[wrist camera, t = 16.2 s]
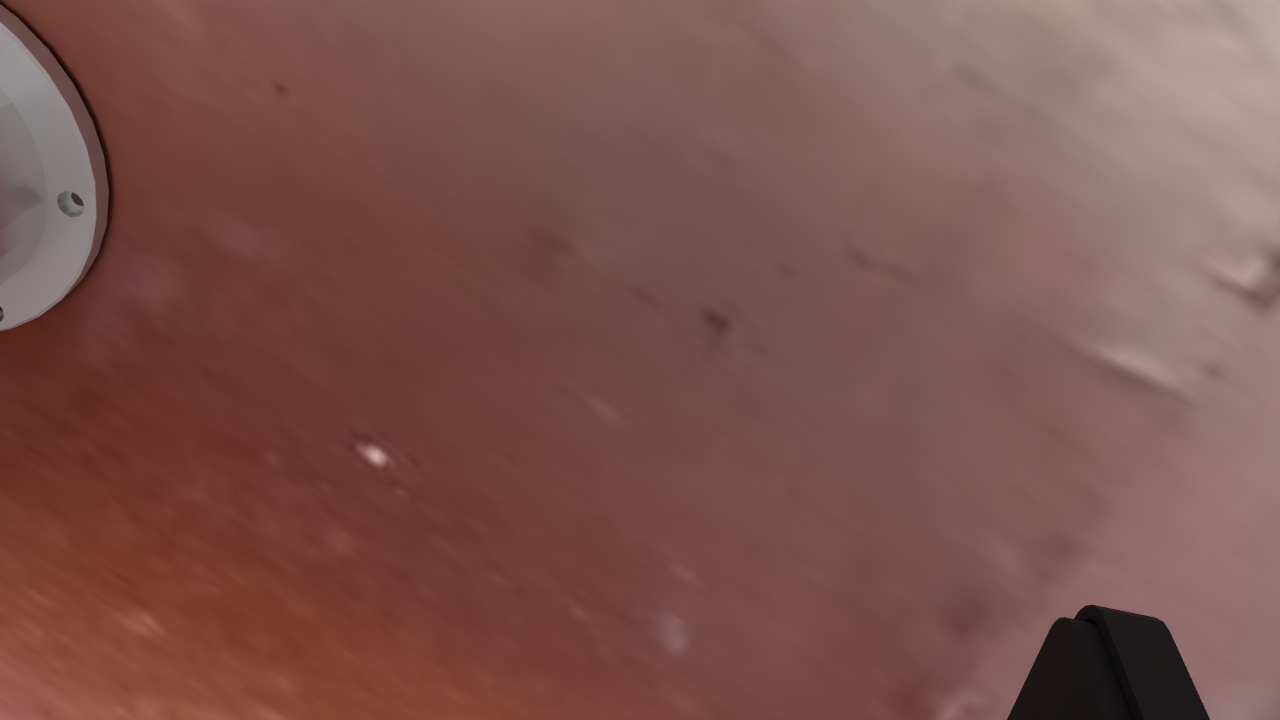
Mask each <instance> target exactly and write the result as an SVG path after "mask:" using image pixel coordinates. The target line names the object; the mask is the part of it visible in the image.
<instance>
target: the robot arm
mask: <svg viewBox="0 0 1280 720" xmlns="http://www.w3.org/2000/svg"><path fill="white" fill-rule="evenodd" d="M108 199H109V189H108V181H107V174H106V166H105V159H104V155H103V152H102V149H101V145H100V142H99V139H98V136H97V133H96V130H95V127H94V124H93V121H92V119H91V117H90V115H89V113H88V111H87V109H86V107H85V105H84V103H83V101H82V99H81V97H80V95H79V94H78V92H77V90H76V88H75V86H74V84H73V83H72V81H71V80H70V78H69V77H68V76H67V74H66V73H65V72H64V70H63V69H62V67H61V66H60V65H59V63H58V62H57V60H56V59H55V58H54V56H53V55H52V54H51V52H50V51H49V49H48V48H47V47H46V46H45V45H44V44H43V43H42V42H41V41H40V40H39V39H38V38H37V37H36V36H35V35H34V34H33V33H32V32H31V31H30V30H29V29H28V28H27V27H26V26H25V25H24V24H23V23H22V22H21V21H20V20H19V19H18V18H17V17H16V16H15V15H13V14H12V13H11V12H9V11H8V10H7V9H6V8H4V7H3V6H2V5H0V331H2V330H7V329H12V328H15V327H17V326H19V325H22V324H24V323H26V322H28V321H31V320H33V319H35V318H37V317H39V316H41V315H42V314H43V313H45V312H46V311H47V310H49V309H50V308H51V307H53V306H54V305H55V304H57V303H58V302H59V301H61V300H62V299H63V298H64V297H65V296H66V295H67V294H68V293H69V292H70V291H71V290H72V289H73V288H74V287H75V286H76V285H77V284H78V283H79V282H80V281H81V280H82V279H83V278H84V277H85V275H86V273H87V272H88V270H89V268H90V267H91V265H92V263H93V262H94V260H95V258H96V256H97V255H98V252H99V249H100V246H101V242H102V239H103V236H104V232H105V229H106V226H107V214H108ZM1007 720H1210V719H1209V716H1208V714H1207V712H1206V710H1205V708H1204V705H1203V703H1202V701H1201V699H1200V697H1199V694H1198V692H1197V690H1196V688H1195V686H1194V683H1193V681H1192V679H1191V677H1190V675H1189V672H1188V670H1187V668H1186V666H1185V664H1184V662H1183V659H1182V657H1181V655H1180V653H1179V651H1178V648H1177V646H1176V644H1175V642H1174V640H1173V637H1172V635H1171V633H1170V631H1169V629H1168V628H1167V626H1166V625H1165V623H1164V622H1163V621H1161V620H1159V619H1157V618H1154V617H1150V616H1145V615H1140V614H1135V613H1130V612H1125V611H1120V610H1115V609H1110V608H1106V607H1101V606H1096V605H1088V606H1085V607H1083V608H1082V609H1081V610H1080V611H1079V612H1078V613H1077V615H1076V616H1075V618H1074V619H1070V618H1065V617H1063V618H1059V619H1058V620H1057V621H1055V622H1054V624H1053V625H1052V627H1051V629H1050V630H1049V633H1048V635H1047V637H1046V639H1045V641H1044V643H1043V645H1042V647H1041V649H1040V652H1039V654H1038V656H1037V658H1036V660H1035V662H1034V664H1033V666H1032V668H1031V670H1030V673H1029V675H1028V677H1027V679H1026V681H1025V683H1024V685H1023V687H1022V689H1021V692H1020V694H1019V696H1018V698H1017V700H1016V702H1015V704H1014V706H1013V708H1012V711H1011V713H1010V715H1009V717H1008V719H1007Z"/></svg>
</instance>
